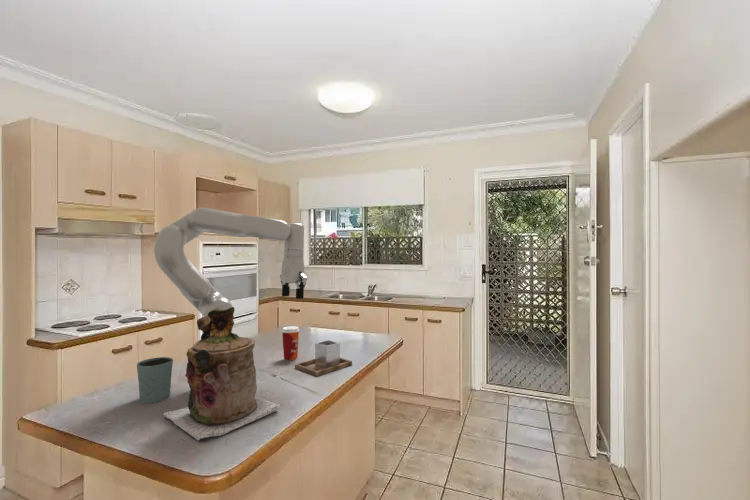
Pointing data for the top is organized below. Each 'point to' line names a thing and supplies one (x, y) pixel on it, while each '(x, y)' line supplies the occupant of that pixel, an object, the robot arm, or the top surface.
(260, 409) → the cookie jar
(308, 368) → the walnut tray
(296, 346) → the paper cup
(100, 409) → the top surface
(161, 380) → the teal cup
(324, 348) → the square metal container
